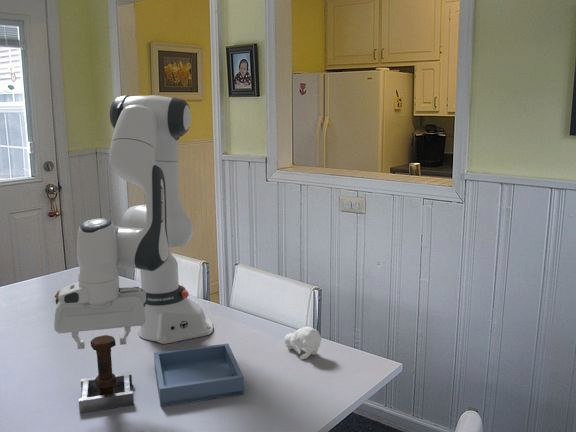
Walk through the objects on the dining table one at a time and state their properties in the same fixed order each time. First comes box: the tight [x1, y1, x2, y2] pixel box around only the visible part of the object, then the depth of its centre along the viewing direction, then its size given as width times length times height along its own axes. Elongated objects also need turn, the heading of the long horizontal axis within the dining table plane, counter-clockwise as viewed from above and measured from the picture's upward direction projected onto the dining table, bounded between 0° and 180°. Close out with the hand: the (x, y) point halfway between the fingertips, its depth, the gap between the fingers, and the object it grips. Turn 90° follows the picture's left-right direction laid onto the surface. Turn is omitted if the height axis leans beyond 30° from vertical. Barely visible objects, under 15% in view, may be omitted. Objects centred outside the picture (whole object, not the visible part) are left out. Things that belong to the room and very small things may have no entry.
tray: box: [153, 343, 245, 408], centre depth 146 cm, size 20×20×4 cm
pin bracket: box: [78, 372, 135, 414], centre depth 138 cm, size 12×11×3 cm
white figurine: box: [284, 326, 322, 360], centre depth 161 cm, size 6×8×12 cm
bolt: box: [90, 334, 117, 396], centre depth 136 cm, size 6×5×15 cm
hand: (102, 345), depth 135 cm, fingers open, 8 cm apart
